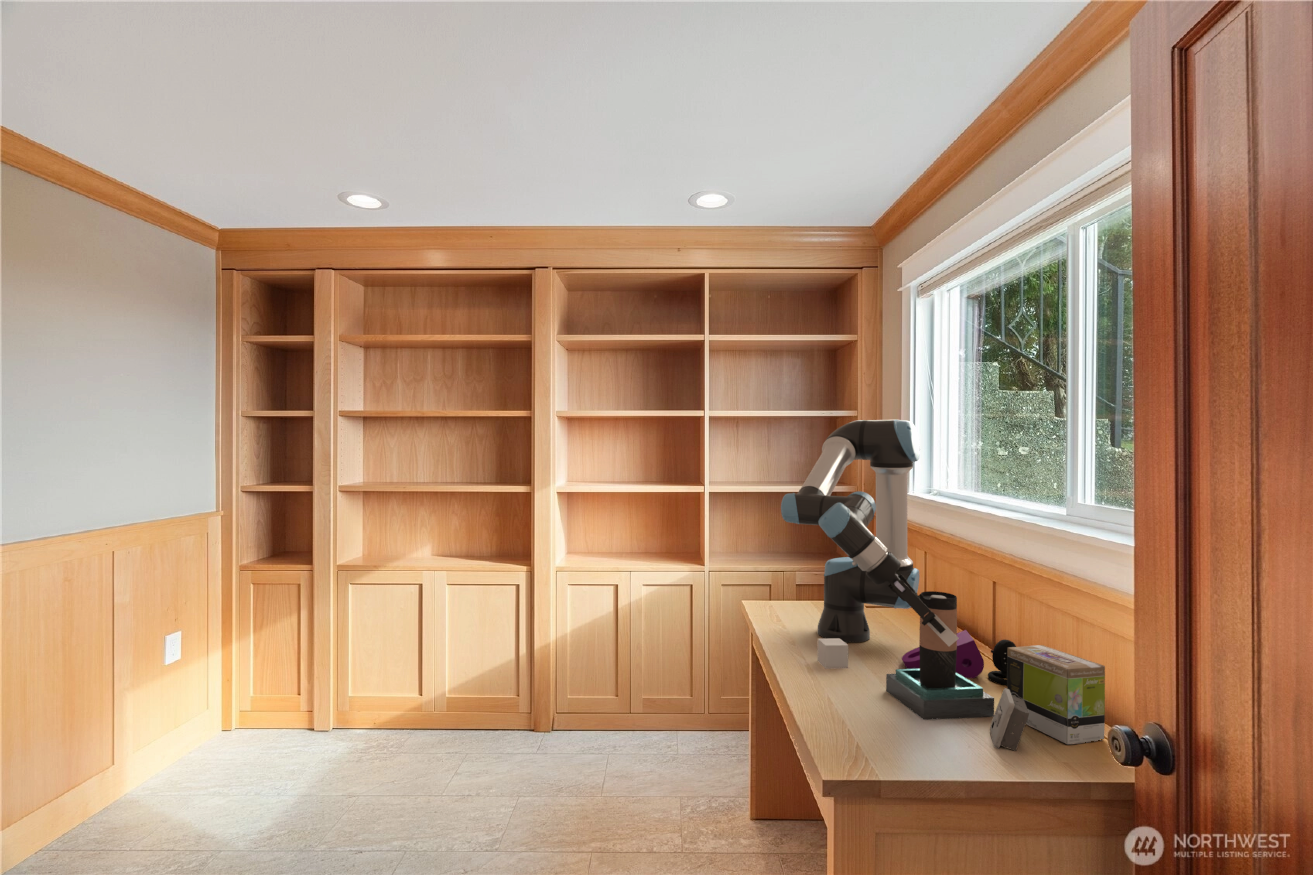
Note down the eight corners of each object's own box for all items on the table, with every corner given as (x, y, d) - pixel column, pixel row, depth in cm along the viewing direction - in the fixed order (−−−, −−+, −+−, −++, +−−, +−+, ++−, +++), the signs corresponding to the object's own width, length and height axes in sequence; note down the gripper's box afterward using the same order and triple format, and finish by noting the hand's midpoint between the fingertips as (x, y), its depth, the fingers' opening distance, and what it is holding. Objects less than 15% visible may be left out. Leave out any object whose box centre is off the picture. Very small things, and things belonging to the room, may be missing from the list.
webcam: (1008, 688, 156) (1009, 646, 156) (980, 678, 163) (981, 637, 163) (1029, 683, 160) (1029, 642, 160) (1000, 673, 166) (1001, 633, 167)
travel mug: (954, 681, 148) (955, 592, 149) (958, 693, 141) (959, 600, 141) (918, 677, 151) (919, 589, 151) (919, 688, 144) (920, 596, 144)
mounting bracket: (918, 696, 166) (989, 672, 162) (903, 665, 167) (973, 640, 163) (914, 683, 175) (981, 660, 171) (899, 653, 176) (966, 629, 172)
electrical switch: (989, 729, 133) (994, 684, 132) (1018, 737, 131) (1023, 691, 130) (993, 749, 124) (999, 701, 124) (1024, 757, 122) (1030, 708, 122)
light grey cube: (825, 669, 168) (825, 645, 168) (817, 661, 174) (817, 638, 174) (848, 668, 168) (848, 645, 168) (839, 660, 174) (839, 638, 174)
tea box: (1106, 740, 129) (1107, 665, 129) (1066, 746, 126) (1067, 669, 126) (1041, 710, 143) (1042, 642, 143) (1004, 715, 140) (1005, 645, 140)
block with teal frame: (886, 691, 153) (886, 667, 153) (950, 688, 155) (950, 665, 155) (923, 719, 137) (923, 693, 137) (993, 716, 139) (994, 690, 139)
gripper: (858, 563, 162) (922, 628, 158) (870, 583, 137) (946, 662, 134) (881, 542, 161) (946, 608, 157) (897, 559, 136) (974, 638, 133)
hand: (946, 633), depth 146 cm, fingers open, 13 cm apart
